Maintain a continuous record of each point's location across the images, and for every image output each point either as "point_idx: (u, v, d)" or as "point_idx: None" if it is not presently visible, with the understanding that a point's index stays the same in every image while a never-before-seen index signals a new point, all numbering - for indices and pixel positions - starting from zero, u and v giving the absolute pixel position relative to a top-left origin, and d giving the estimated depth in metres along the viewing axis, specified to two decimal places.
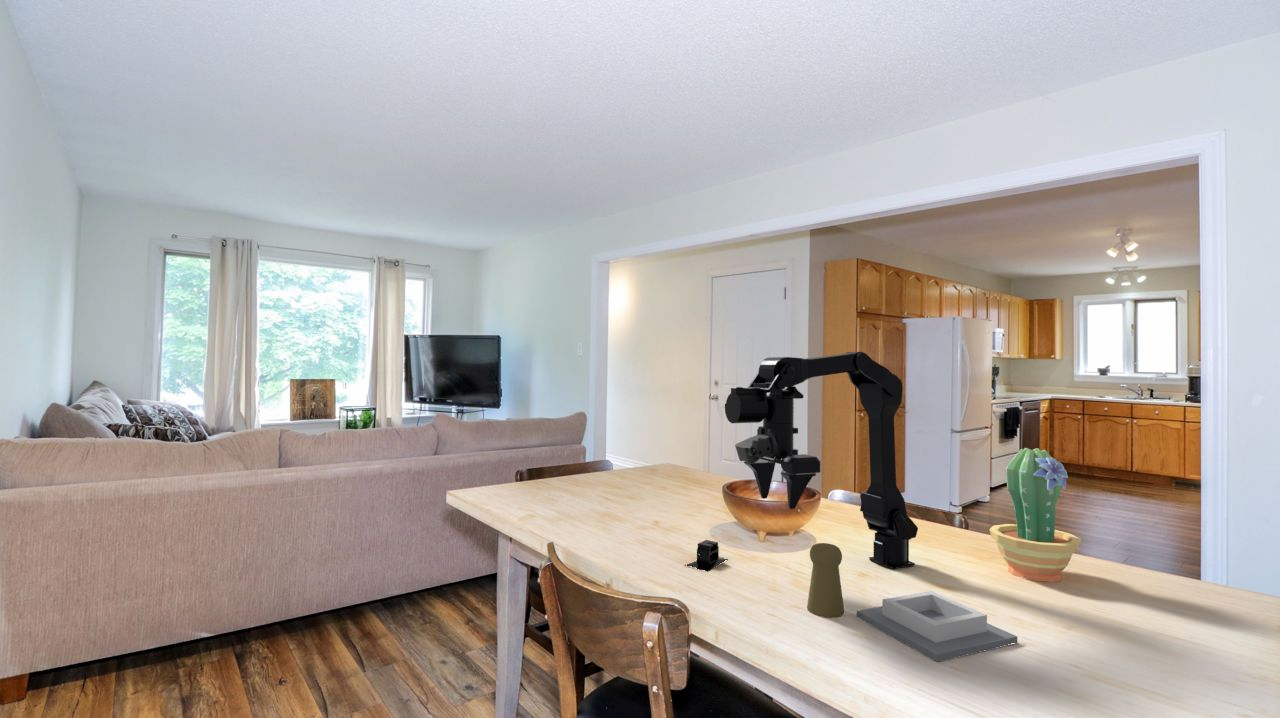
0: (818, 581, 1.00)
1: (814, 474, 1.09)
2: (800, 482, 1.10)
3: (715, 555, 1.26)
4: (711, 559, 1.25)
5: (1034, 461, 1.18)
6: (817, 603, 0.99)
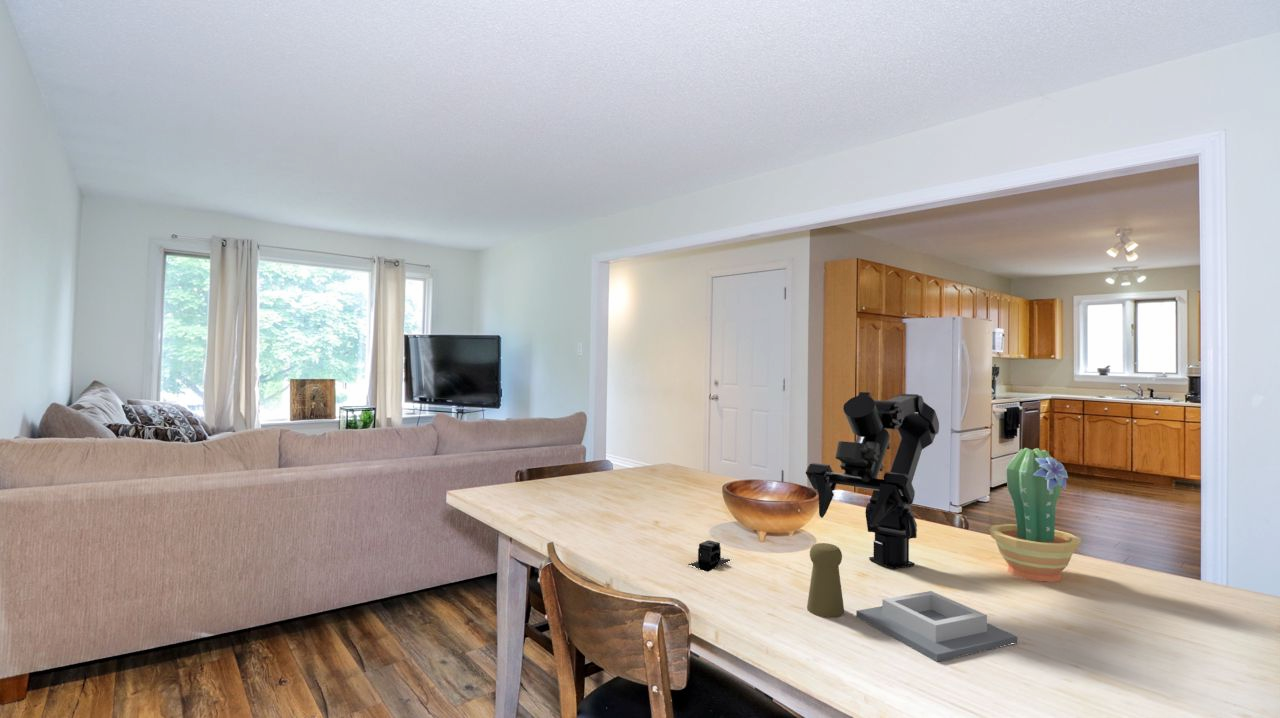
0: (818, 581, 1.00)
1: (903, 504, 1.07)
2: (887, 505, 1.07)
3: (717, 555, 1.26)
4: (713, 559, 1.25)
5: (1034, 461, 1.18)
6: (817, 603, 0.99)
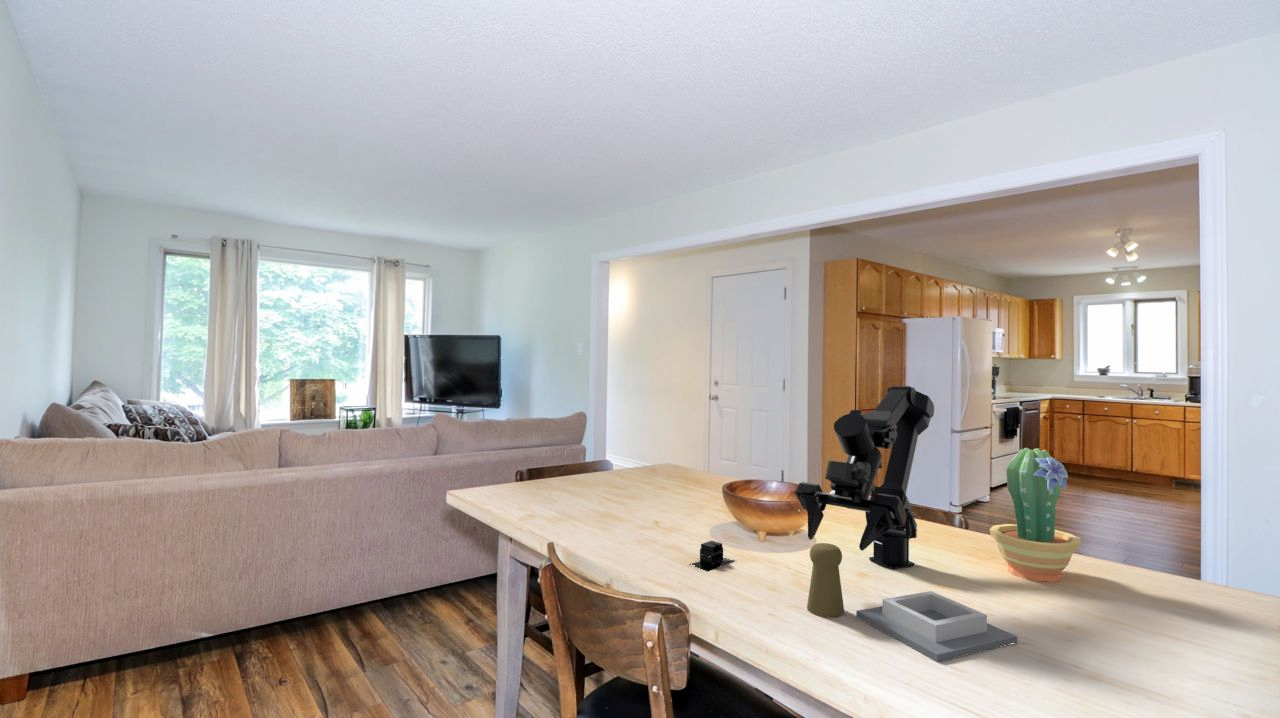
0: (818, 581, 1.00)
1: (895, 526, 1.03)
2: (878, 528, 1.03)
3: (720, 556, 1.26)
4: (715, 560, 1.25)
5: (1034, 461, 1.18)
6: (817, 603, 0.99)
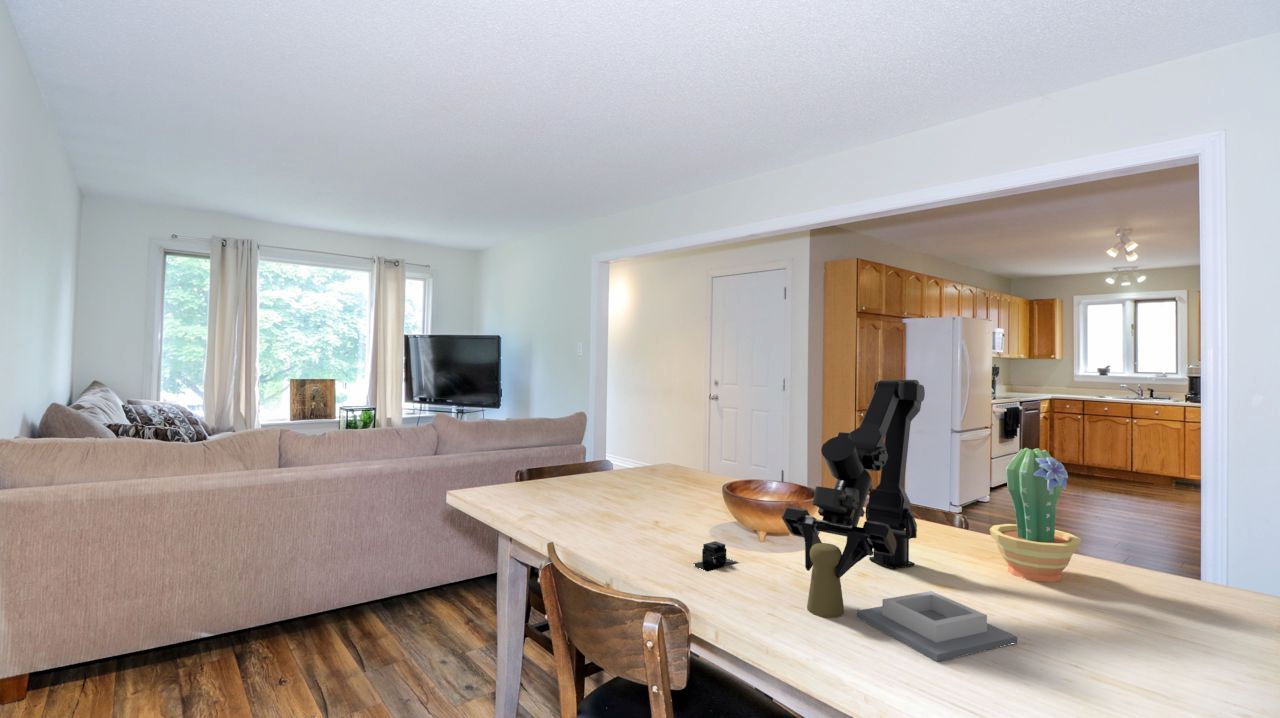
0: (818, 581, 1.00)
1: (872, 553, 1.01)
2: (855, 554, 1.01)
3: (723, 557, 1.25)
4: (717, 561, 1.24)
5: (1034, 461, 1.18)
6: (817, 603, 0.99)
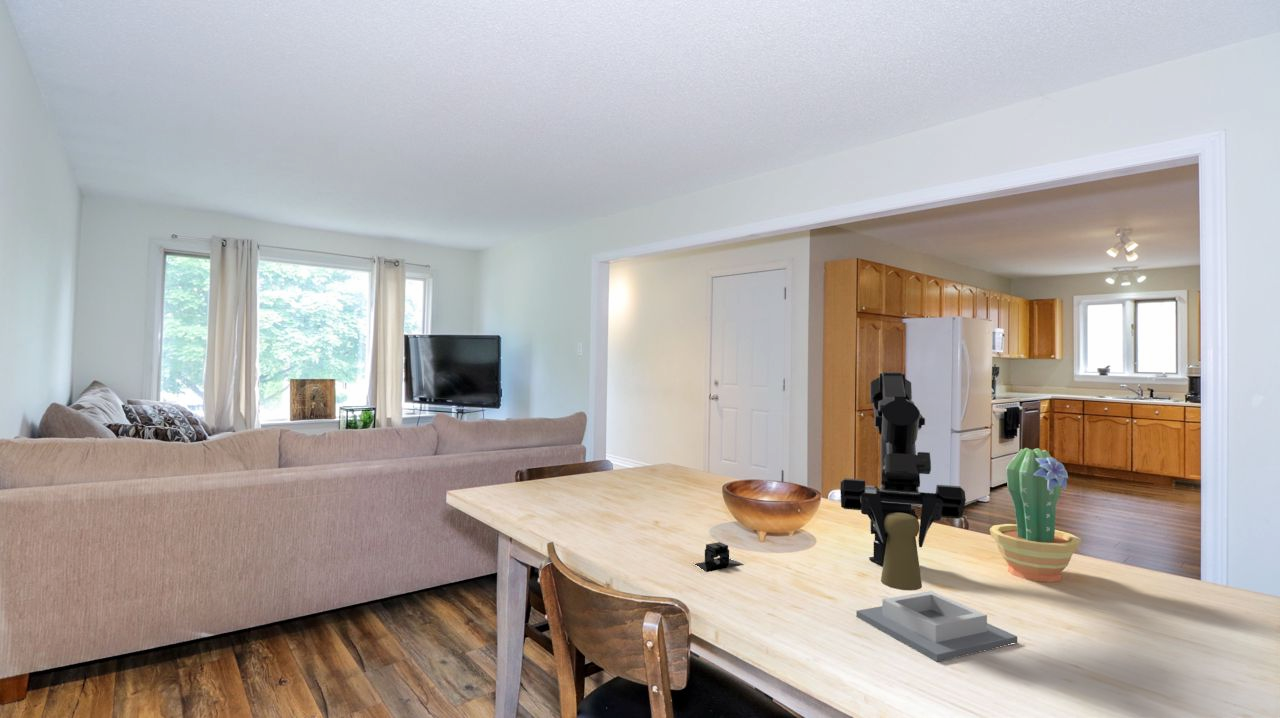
0: (900, 553, 0.93)
1: None
2: None
3: (726, 558, 1.24)
4: (720, 562, 1.24)
5: (1034, 461, 1.18)
6: (900, 577, 0.93)
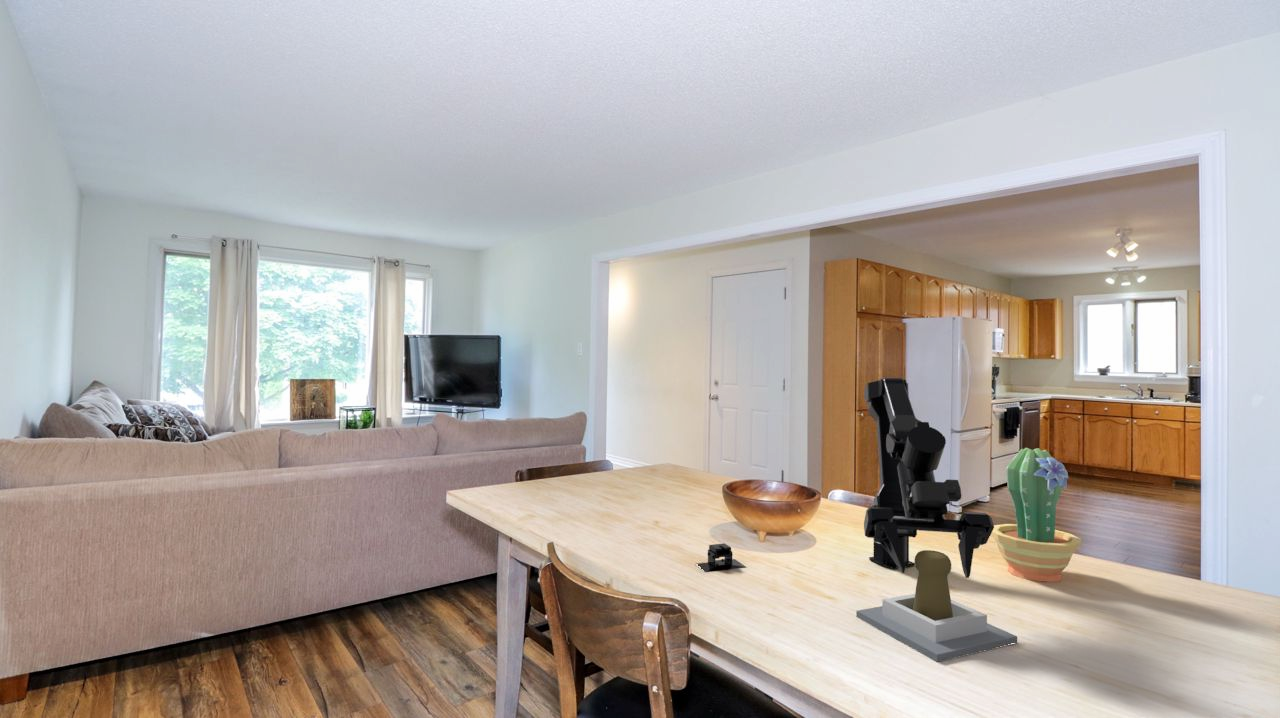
0: (934, 593, 0.92)
1: None
2: None
3: (729, 560, 1.23)
4: (722, 563, 1.23)
5: (1035, 461, 1.18)
6: (935, 617, 0.91)
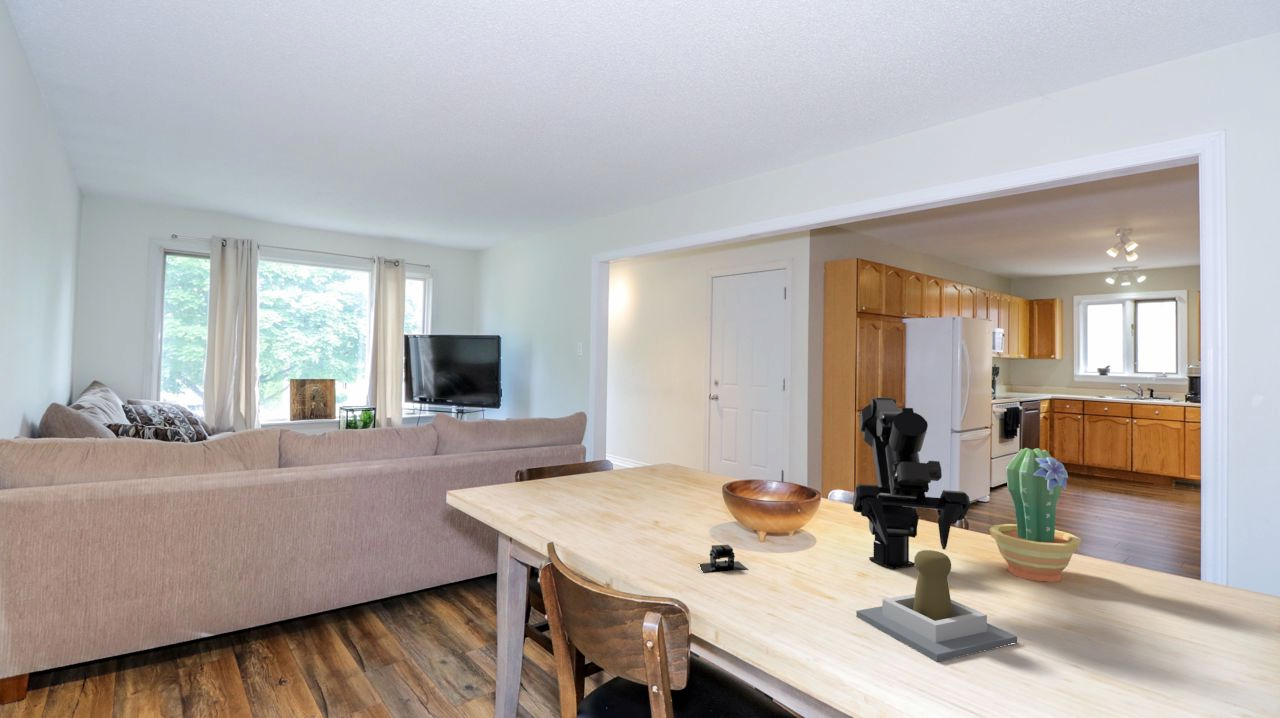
0: (934, 593, 0.92)
1: None
2: None
3: (731, 562, 1.22)
4: (724, 564, 1.22)
5: (1034, 461, 1.18)
6: (935, 617, 0.91)
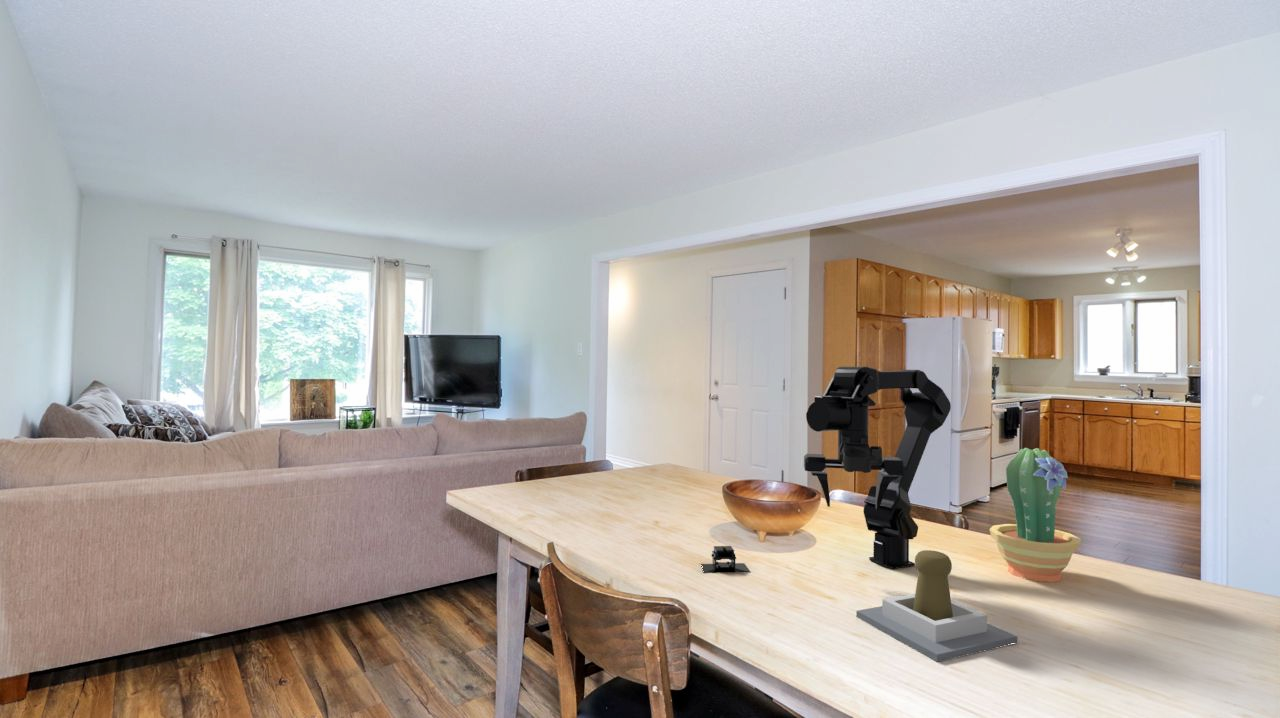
0: (934, 593, 0.92)
1: None
2: None
3: (733, 563, 1.21)
4: (725, 565, 1.21)
5: (1034, 461, 1.18)
6: (935, 617, 0.91)
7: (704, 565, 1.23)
